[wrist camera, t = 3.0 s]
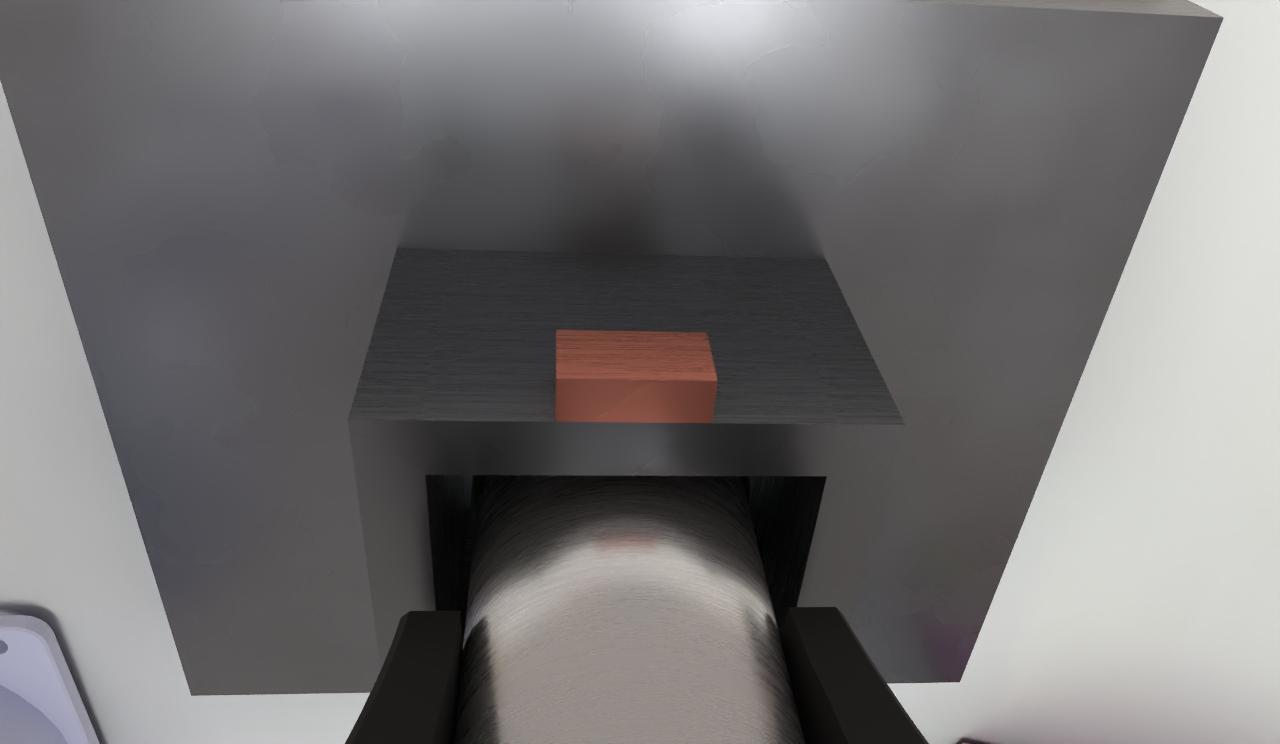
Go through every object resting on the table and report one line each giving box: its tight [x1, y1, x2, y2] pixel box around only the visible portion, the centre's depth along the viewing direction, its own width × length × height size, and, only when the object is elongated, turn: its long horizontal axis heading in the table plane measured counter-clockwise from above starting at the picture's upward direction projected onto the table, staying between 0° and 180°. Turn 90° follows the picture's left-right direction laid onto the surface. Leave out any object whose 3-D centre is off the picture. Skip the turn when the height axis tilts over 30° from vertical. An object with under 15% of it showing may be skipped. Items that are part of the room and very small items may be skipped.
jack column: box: [454, 475, 805, 744], centre depth 13 cm, size 4×4×8 cm
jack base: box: [0, 0, 1223, 696], centre depth 15 cm, size 16×14×6 cm
